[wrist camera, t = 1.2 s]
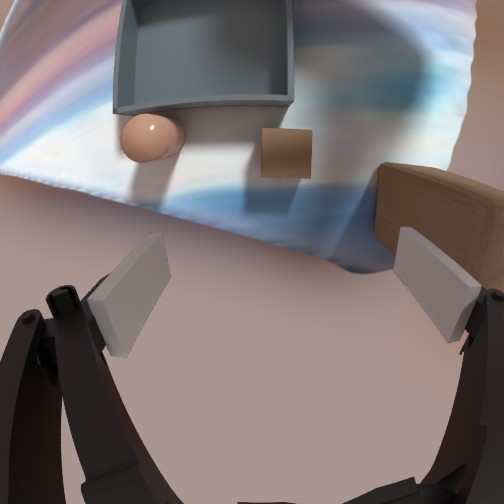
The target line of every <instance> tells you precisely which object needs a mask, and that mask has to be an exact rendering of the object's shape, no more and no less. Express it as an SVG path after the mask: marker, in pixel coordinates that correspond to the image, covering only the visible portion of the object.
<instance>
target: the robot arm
mask: <svg viewBox="0 0 504 504" xmlns="http://www.w3.org/2000/svg"><path fill="white" fill-rule="evenodd" d="M393 271H394V273H395V274H396V275H397V276H398V277H399V279H400V280H401V281H402V282H403V284H404V285H405V286H406V287H407V289H408V290H409V291H410V293H411V294H412V295H413V296H414V298H415V299H416V300H417V302H418V303H419V304H420V305H421V307H422V308H423V310H424V311H425V312H426V314H427V315H428V316H429V318H430V319H431V320H432V322H433V323H434V325H435V326H436V327H437V329H438V330H439V332H440V333H441V335H442V336H443V337H444V339H445V340H446V342H447V343H451V342H456V341H459V340H460V339H461V337H462V334H463V332H464V330H465V329H466V331H467V332H468V333H469V335H468V337H467V339H466V341H465V343H464V345H463V347H462V349H461V351H460V353H459V354H460V355H461V354H462V352H464V357H463V362H462V368H461V374H460V379H459V383H458V388H457V392H456V396H455V400H454V404H453V408H452V412H451V416H450V419H449V422H448V425H447V428H446V431H445V435H444V437H443V440H442V443H441V446H440V449H439V451H438V454H437V456H436V459H435V461H434V464H433V466H432V468H431V470H430V471H429V473H428V474H427V475H426V476H425V478H424V479H423V480H422V482H421V483H420V484H416V482H415V479H414V477H411V478H408V479H405V480H402V481H399V482H396V483H392V484H389V485H386V486H382V487H378V488H376V489H374V490H372V491H369V492H367V493H365V494H363V495H361V496H359V497H357V498H354V499H352V500H350V501H348V502H345V503H343V504H504V293H503V292H502V291H500V290H497V289H488V290H486V289H485V288H484V287H483V286H482V285H481V284H480V283H479V282H477V281H476V280H475V279H474V278H473V277H472V276H471V275H470V274H469V273H468V272H466V271H465V270H464V269H463V268H462V267H461V266H459V265H458V264H457V263H456V262H455V261H454V260H452V259H451V258H450V257H449V256H448V255H446V254H445V253H444V252H443V251H442V250H440V249H439V248H438V247H437V246H435V245H434V244H433V243H432V242H430V241H429V240H428V239H426V238H425V237H424V236H422V235H421V234H420V233H418V232H417V231H416V230H414V229H413V228H412V227H400V233H399V240H398V246H397V252H396V258H395V263H394V268H393ZM170 278H171V275H170V270H169V265H168V259H167V254H166V248H165V243H164V237H163V232H158V233H150V234H149V235H148V236H147V237H146V238H145V239H144V240H143V241H141V242H140V243H139V244H138V245H137V247H135V249H133V250H132V251H131V253H130V254H129V255H128V256H127V257H126V258H125V259H124V260H123V261H122V262H121V263H120V264H119V265H118V266H117V267H116V268H115V269H114V270H113V271H112V272H111V273H110V274H108V275H106V276H105V277H103V278H102V279H100V280H99V282H98V283H97V284H96V285H95V286H94V287H93V288H92V289H91V291H89V292H88V293H87V295H86V296H85V297H84V298H83V299H82V300H81V301H80V300H79V297H78V295H77V292H76V289H75V287H74V286H72V285H65V286H60V287H58V288H56V289H54V290H53V291H51V292H50V293H49V294H48V295H47V297H46V301H47V304H48V306H49V308H50V311H51V313H52V315H53V317H54V318H51V319H43V317H42V314H41V312H40V311H39V310H36V309H33V310H28V311H26V312H24V313H23V314H22V315H21V316H20V317H19V318H18V320H17V322H16V324H15V326H14V328H13V331H12V333H11V336H10V338H9V340H8V343H7V345H6V348H5V351H4V353H3V356H2V359H1V362H0V504H66V501H65V494H64V485H63V476H62V460H61V410H62V396H63V401H64V406H65V410H66V415H67V419H68V423H69V427H70V431H71V434H72V438H73V441H74V445H75V448H76V451H77V454H78V457H79V460H80V463H81V466H82V469H83V471H84V474H85V478H86V481H85V482H84V483H83V484H81V492H82V495H83V498H84V501H85V503H86V504H184V503H182V501H181V500H180V499H179V498H178V497H177V496H176V494H175V493H174V492H173V490H172V489H171V488H170V486H169V485H168V483H167V482H166V480H165V479H164V477H163V476H162V474H161V473H160V471H159V469H158V468H157V466H156V465H155V463H154V461H153V459H152V458H151V456H150V454H149V453H148V451H147V449H146V447H145V445H144V444H143V442H142V440H141V438H140V436H139V434H138V433H137V431H136V429H135V427H134V425H133V423H132V421H131V419H130V417H129V415H128V412H127V410H126V408H125V406H124V404H123V402H122V399H121V397H120V395H119V393H118V390H117V388H116V385H115V383H114V380H113V378H112V376H111V373H110V370H109V367H108V365H107V362H106V359H105V357H104V355H103V353H102V351H103V349H104V347H105V346H107V349H108V351H109V353H110V355H111V356H116V357H123V358H127V356H128V354H129V352H130V350H131V348H132V347H133V345H134V343H135V341H136V338H137V337H138V335H139V333H140V331H141V330H142V328H143V326H144V324H145V322H146V320H147V318H148V316H149V315H150V313H151V311H152V309H153V308H154V306H155V304H156V302H157V300H158V299H159V297H160V295H161V293H162V292H163V290H164V288H165V286H166V285H167V283H168V281H169V279H170ZM238 504H294V503H287V502H275V503H249V502H238Z"/></svg>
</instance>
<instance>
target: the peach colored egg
mask: <svg viewBox="0 0 504 504" xmlns="http://www.w3.org/2000/svg"><path fill="white" fill-rule="evenodd" d="M185 136H186V135H185V130H184V127H183V126H182V124H181V123H180V122H179V121H178V120H176V119H174V118H169V117H164V116H158V115H153V114H139V115H137V116H135V117H133V118H132V119H131V120H129V121H128V123H127V124H126V125H125V127H124V129H123V132H122V136H121V145H122V148H123V151H124V153H125V154H126V156H127V157H128V158H130V159H131V160H133V161H135V162H139V163H145V162H149V161H153V160H157V159H161V158H166V157H170V156H173V155H175V154H176V153H178V152H179V151H180V150H181V148H182V147H183V145H184V142H185Z"/></svg>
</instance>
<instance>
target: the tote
mask: <svg viewBox="0 0 504 504" xmlns="http://www.w3.org/2000/svg"><path fill="white" fill-rule="evenodd" d="M293 102H294V40H293V8H292V0H123V2H122V7H121V13H120V20H119V27H118V34H117V43H116V53H115V65H114V82H113V114H120V115H138V114H145V113H152V112H159V111H167V110H176V109H186V108H199V107H215V106H285V107H289V106H290V105H291V104H292V103H293Z"/></svg>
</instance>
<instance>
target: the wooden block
mask: <svg viewBox="0 0 504 504" xmlns="http://www.w3.org/2000/svg"><path fill="white" fill-rule="evenodd" d="M400 227H412V228H413V229H414V230H416V231H417V232H418V233H420V234H421V235H422V236H424V237H425V238H426V239H428V240H429V241H430V242H432V243H433V244H434V245H435V246H437V247H438V248H439V249H440V250H442V251H443V252H444V253H445V254H446V255H448V256H449V257H450V258H451V259H452V260H454V261H455V262H456V263H457V264H458V265H459V266H461V267H462V268H463V269H464V270H465V271H466V272H468V273H469V274H470V275H471V276H472V277H473V278H474V279H475V280H476V281H477V282H479V283H480V284H481V285H482V286H483V287H484V288H485V289H486V290H488V289H497V290H500V291H502V292H503V293H504V191H501V190H498V189H496V188H493V187H491V186H488V185H485V184H483V183H480V182H477V181H475V180H472V179H469V178H466V177H463V176H460V175H457V174H454V173H450V172H447V171H444V170H441V169H437V168H432V167H424V166H417V165H408V164H399V163H389V162H386V163H383V164H381V165H380V166H379V171H378V190H377V203H376V215H375V225H374V233H375V237H376V238H377V239H378V240H379V241H380V242H381V243H382V244H383V245H384V246H385V247H386V248H387V249H388V250H389V251H390V252H391V253H392V254H393V255H394V256H395V257H396V252H397V246H398V240H399V233H400Z"/></svg>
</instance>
